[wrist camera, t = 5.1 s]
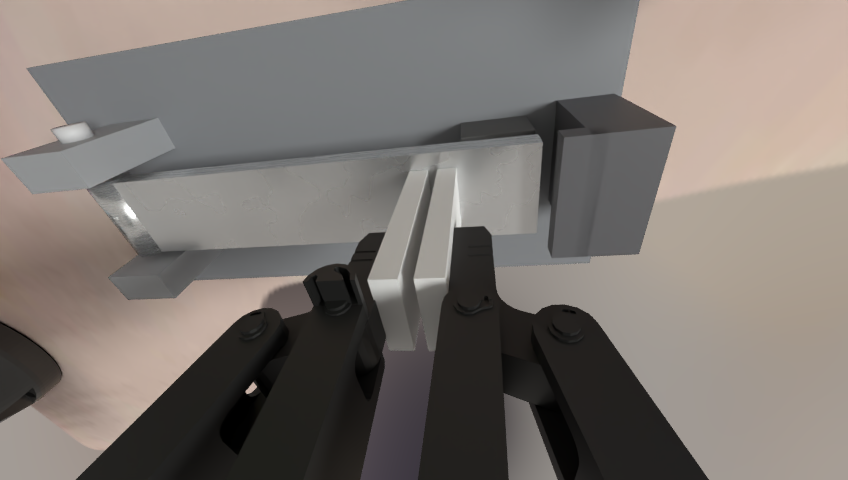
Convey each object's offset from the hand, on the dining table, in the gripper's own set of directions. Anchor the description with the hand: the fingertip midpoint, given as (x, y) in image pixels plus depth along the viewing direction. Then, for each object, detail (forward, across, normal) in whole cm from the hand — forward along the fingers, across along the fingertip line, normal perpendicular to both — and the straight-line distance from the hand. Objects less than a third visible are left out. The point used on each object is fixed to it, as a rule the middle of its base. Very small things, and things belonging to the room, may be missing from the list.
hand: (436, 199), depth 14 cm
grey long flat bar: (+1, -6, 0) cm, 6 cm away
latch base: (+6, -6, 0) cm, 8 cm away
